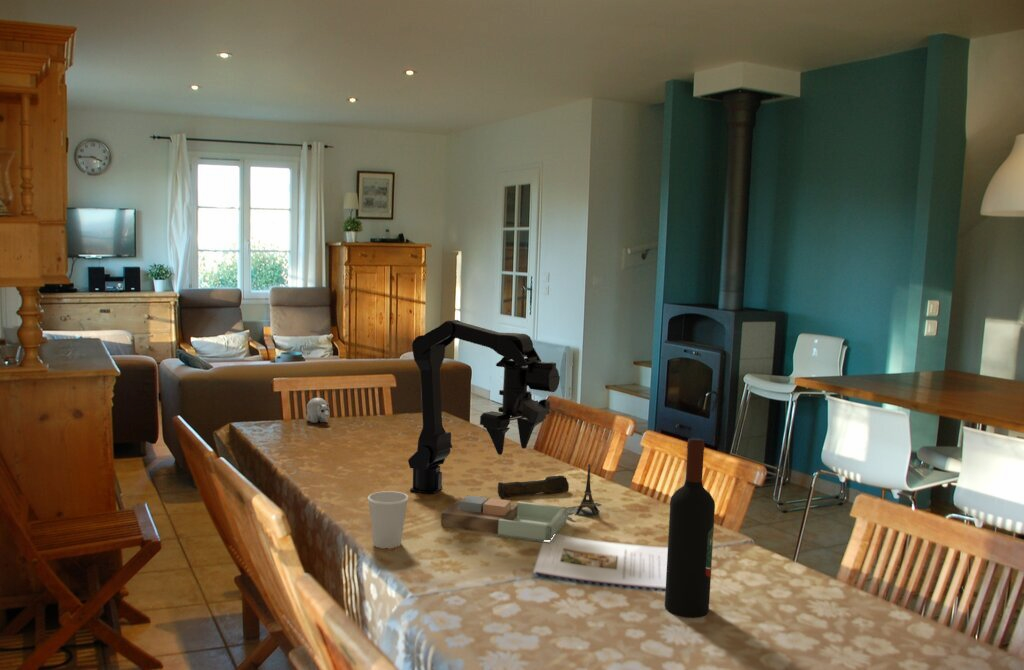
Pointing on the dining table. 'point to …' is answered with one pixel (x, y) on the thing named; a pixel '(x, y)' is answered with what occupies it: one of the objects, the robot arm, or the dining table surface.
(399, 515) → the dixie cup
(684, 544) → the wine bottle
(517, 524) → the tray
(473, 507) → the tile slate
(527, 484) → the hand tool
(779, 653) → the dining table surface
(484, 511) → the tile terracotta
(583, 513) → the eiffel tower figurine
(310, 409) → the chubby cartoon animal
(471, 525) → the plate
